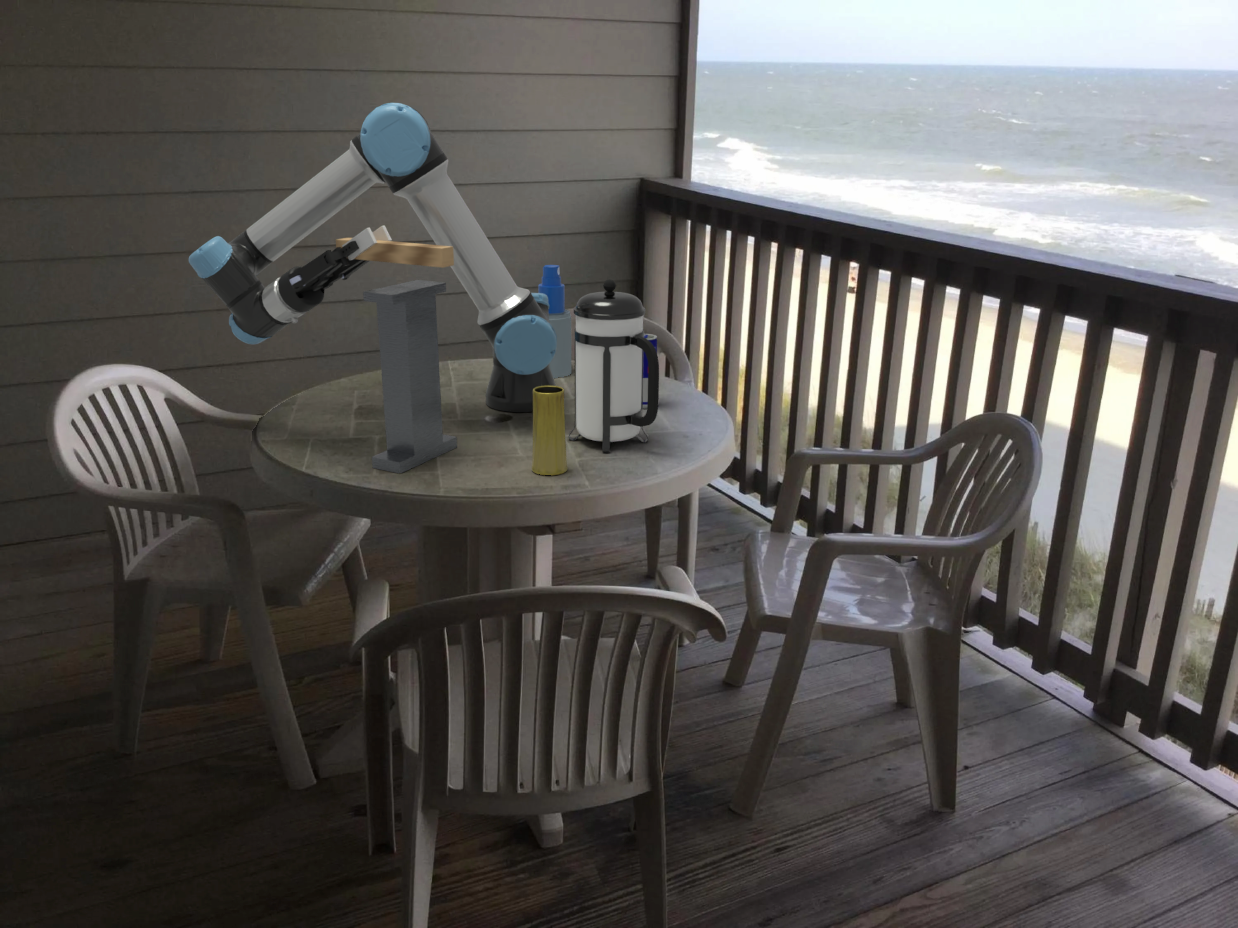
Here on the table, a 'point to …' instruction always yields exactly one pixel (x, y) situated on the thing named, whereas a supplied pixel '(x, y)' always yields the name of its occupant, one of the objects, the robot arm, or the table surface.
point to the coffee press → (612, 368)
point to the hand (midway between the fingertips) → (379, 234)
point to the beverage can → (645, 369)
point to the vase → (549, 431)
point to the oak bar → (406, 253)
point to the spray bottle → (558, 319)
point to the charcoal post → (410, 374)
